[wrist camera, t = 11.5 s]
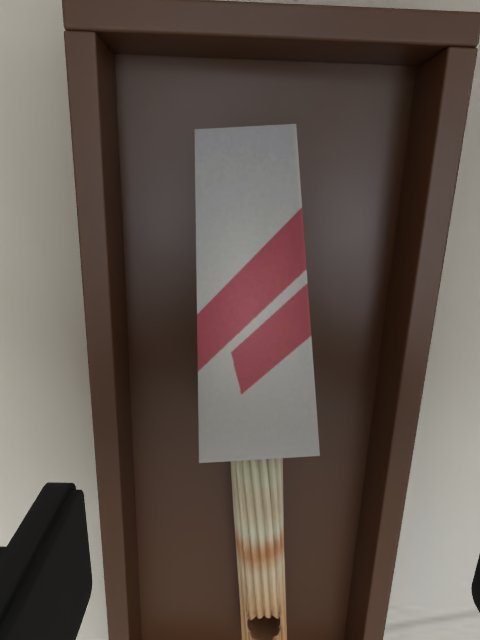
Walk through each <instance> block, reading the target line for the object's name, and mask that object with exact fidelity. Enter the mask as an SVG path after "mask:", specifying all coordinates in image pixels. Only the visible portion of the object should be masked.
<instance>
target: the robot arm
mask: <svg viewBox="0 0 480 640" xmlns="http://www.w3.org/2000/svg"><path fill="white" fill-rule="evenodd" d="M91 590H92V573H91V563H90V553H89V543H88V533H87V523H86V513H85V503H84V494H83V491H82V490H76V486H75V484H74V483H47V484H46V485H45V486H44V487H43V489H42V490H41V492H40V494H39V495H38V497H37V498H36V500H35V502H34V503H33V505H32V507H31V508H30V510H29V511H28V513H27V515H26V516H25V518H24V520H23V521H22V523H21V524H20V526H19V528H18V529H17V531H16V533H15V534H14V536H13V537H12V539H11V541H10V542H9V544H8V545H7V547H0V640H76V637H77V634H78V631H79V628H80V625H81V622H82V619H83V617H84V614H85V611H86V608H87V605H88V602H89V599H90V595H91ZM472 596H473V600H474V602H475V605H476V607H477V608H478V610H479V612H480V555H479V559H478V563H477V567H476V571H475V575H474V579H473V583H472Z"/></svg>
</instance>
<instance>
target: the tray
mask: <svg viewBox="0 0 480 640" xmlns="http://www.w3.org/2000/svg"><path fill="white" fill-rule="evenodd" d="M62 8H63V22H64V28H65V30H66V31H64V41H65V54H66V68H67V81H68V95H69V108H70V122H71V135H72V149H73V162H74V176H75V189H76V203H77V216H78V230H79V243H80V257H81V270H82V283H83V297H84V310H85V324H86V337H87V351H88V364H89V378H90V391H91V405H92V418H93V432H94V445H95V459H96V472H97V486H98V499H99V513H100V526H101V540H102V553H103V566H104V580H105V593H106V607H107V620H108V634H109V640H242V634H241V614H240V597H239V583H238V569H237V554H236V540H235V525H234V510H233V494H232V478H231V462H230V461H226V462H209V463H199V417H198V344H197V271H196V198H195V129H210V128H228V127H247V126H266V125H284V124H296V129H297V143H298V157H299V171H300V185H301V199H302V213H303V227H304V241H305V255H306V269H307V283H308V297H309V311H310V325H311V339H312V353H313V367H314V381H315V395H316V409H317V423H318V437H319V451H320V456H309V457H292V458H283V516H284V560H285V591H286V624H287V640H383V636H384V630H385V623H386V617H387V611H388V605H389V598H390V592H391V586H392V580H393V573H394V567H395V561H396V555H397V549H398V542H399V536H400V530H401V524H402V517H403V511H404V505H405V499H406V492H407V486H408V480H409V474H410V468H411V461H412V455H413V449H414V443H415V436H416V430H417V424H418V418H419V411H420V405H421V399H422V393H423V387H424V380H425V374H426V368H427V362H428V355H429V349H430V343H431V337H432V330H433V324H434V318H435V312H436V306H437V299H438V293H439V287H440V281H441V274H442V268H443V262H444V256H445V249H446V243H447V237H448V231H449V225H450V218H451V212H452V206H453V200H454V193H455V187H456V181H457V175H458V169H459V162H460V156H461V150H462V144H463V137H464V131H465V125H466V119H467V112H468V106H469V100H470V94H471V88H472V81H473V75H474V69H475V63H476V56H477V48H475V47H477V45H478V42H479V35H480V12H463V11H441V10H418V9H396V8H373V7H350V6H328V5H305V4H282V3H260V2H237V1H215V0H62Z"/></svg>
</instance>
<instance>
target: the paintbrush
mask: <svg viewBox="0 0 480 640" xmlns="http://www.w3.org/2000/svg"><path fill="white" fill-rule="evenodd" d="M195 198H196V271H197V344H198V417H199V463H209V462H226V461H230V462H231V478H232V494H233V510H234V525H235V540H236V554H237V569H238V583H239V597H240V614H241V634H242V640H287V624H286V591H285V560H284V516H283V458H292V457H309V456H320V451H319V437H318V423H317V409H316V395H315V381H314V367H313V353H312V339H311V325H310V311H309V297H308V283H307V269H306V255H305V241H304V227H303V213H302V199H301V185H300V171H299V157H298V143H297V129H296V124H284V125H266V126H247V127H228V128H210V129H195Z"/></svg>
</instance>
